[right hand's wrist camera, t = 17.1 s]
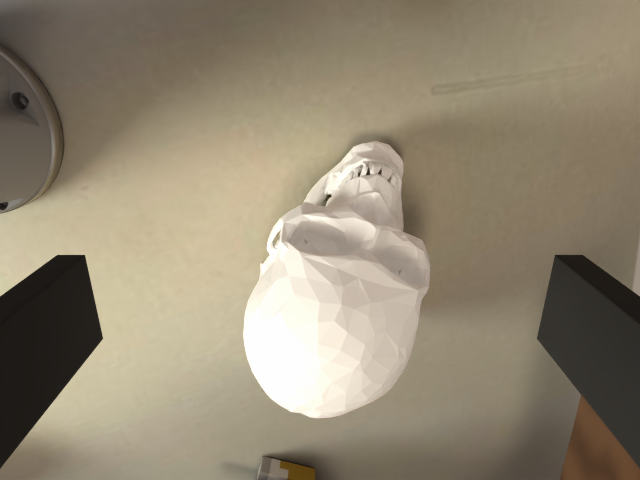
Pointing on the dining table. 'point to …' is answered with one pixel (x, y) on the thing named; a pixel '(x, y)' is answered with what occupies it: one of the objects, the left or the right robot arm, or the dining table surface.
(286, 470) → the toy
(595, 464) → the walnut bar
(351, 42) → the dining table surface
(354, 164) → the skull
